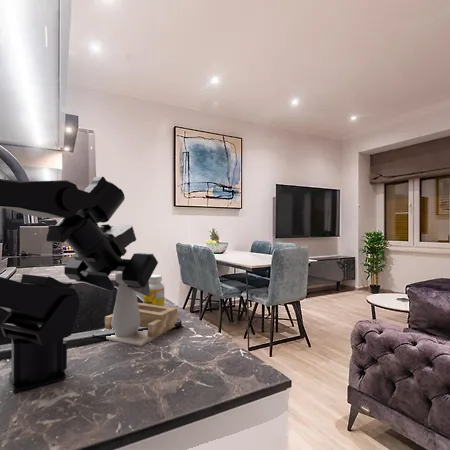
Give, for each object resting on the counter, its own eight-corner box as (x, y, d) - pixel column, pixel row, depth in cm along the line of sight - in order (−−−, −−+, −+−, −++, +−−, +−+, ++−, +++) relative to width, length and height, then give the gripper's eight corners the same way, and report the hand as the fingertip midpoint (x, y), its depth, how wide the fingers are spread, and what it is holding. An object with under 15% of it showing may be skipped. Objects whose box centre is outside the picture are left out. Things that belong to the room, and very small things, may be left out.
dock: (141, 346, 59) (141, 325, 59) (91, 335, 64) (92, 316, 64) (177, 325, 71) (177, 308, 71) (133, 318, 76) (134, 302, 76)
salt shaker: (132, 327, 68) (133, 267, 68) (145, 334, 64) (146, 270, 64) (106, 333, 64) (107, 270, 64) (118, 341, 60) (119, 273, 60)
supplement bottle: (168, 312, 81) (168, 275, 81) (151, 317, 77) (152, 278, 77) (155, 308, 85) (155, 273, 85) (138, 312, 81) (139, 275, 81)
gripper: (152, 210, 57) (183, 264, 67) (77, 210, 64) (115, 259, 74) (121, 257, 49) (161, 310, 60) (40, 252, 57) (88, 299, 67)
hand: (130, 291), depth 65 cm, fingers open, 9 cm apart
